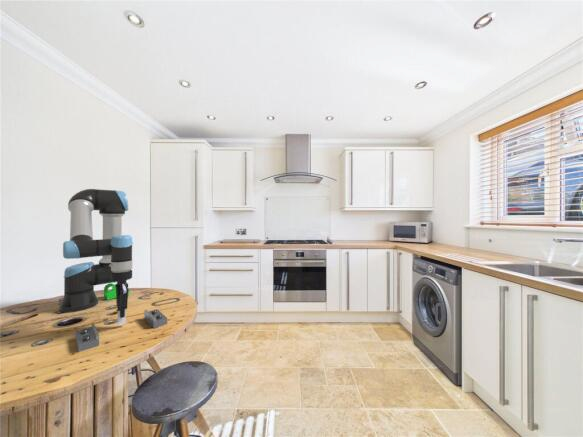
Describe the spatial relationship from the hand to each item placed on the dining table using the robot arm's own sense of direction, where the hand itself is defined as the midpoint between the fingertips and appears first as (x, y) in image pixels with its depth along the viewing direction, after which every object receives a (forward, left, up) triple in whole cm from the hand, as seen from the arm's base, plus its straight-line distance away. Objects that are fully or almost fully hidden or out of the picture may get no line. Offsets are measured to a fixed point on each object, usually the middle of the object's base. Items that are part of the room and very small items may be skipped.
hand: (121, 323), depth 98 cm
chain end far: (+5, +12, -1) cm, 13 cm away
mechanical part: (-51, +7, -2) cm, 51 cm away
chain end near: (+5, -12, -1) cm, 13 cm away
